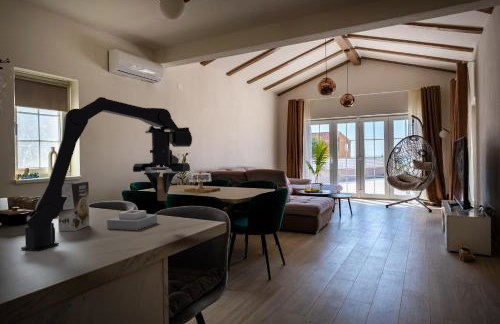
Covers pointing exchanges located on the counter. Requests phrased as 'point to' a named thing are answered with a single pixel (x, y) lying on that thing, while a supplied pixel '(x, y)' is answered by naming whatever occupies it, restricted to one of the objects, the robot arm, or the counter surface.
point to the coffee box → (74, 207)
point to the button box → (132, 220)
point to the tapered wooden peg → (161, 189)
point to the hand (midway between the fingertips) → (161, 193)
